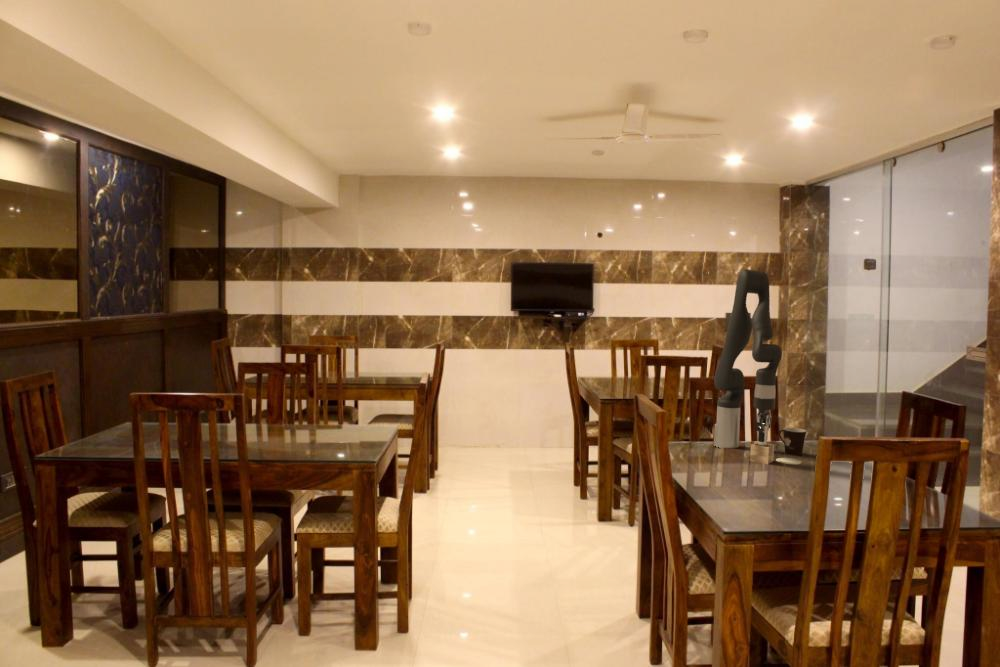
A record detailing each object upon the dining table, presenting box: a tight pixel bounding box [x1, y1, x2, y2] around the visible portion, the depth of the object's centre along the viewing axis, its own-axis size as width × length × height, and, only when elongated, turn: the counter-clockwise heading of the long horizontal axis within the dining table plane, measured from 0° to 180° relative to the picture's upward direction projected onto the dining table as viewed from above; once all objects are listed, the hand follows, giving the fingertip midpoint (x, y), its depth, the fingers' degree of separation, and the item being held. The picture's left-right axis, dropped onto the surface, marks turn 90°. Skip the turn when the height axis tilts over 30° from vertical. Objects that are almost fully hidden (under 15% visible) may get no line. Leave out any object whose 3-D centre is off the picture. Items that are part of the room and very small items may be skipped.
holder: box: [749, 442, 775, 465], centre depth 275 cm, size 7×7×7 cm
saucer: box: [775, 457, 802, 465], centre depth 275 cm, size 9×9×1 cm
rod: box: [757, 425, 768, 447], centre depth 274 cm, size 3×3×14 cm
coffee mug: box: [778, 427, 807, 457], centre depth 292 cm, size 12×9×10 cm
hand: (762, 440), depth 274 cm, fingers closed on rod, 3 cm apart
